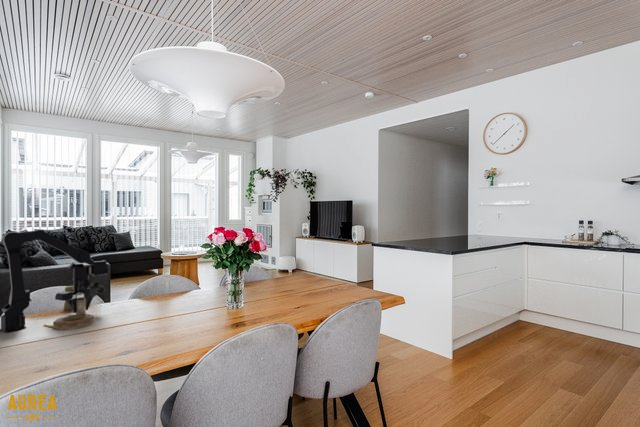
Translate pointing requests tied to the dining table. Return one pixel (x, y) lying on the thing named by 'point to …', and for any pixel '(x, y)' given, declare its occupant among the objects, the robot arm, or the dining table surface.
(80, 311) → the beige wooden peg
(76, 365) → the dining table surface
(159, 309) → the dining table surface
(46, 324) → the thin yellow rod
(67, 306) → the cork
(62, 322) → the brown octagonal ring
